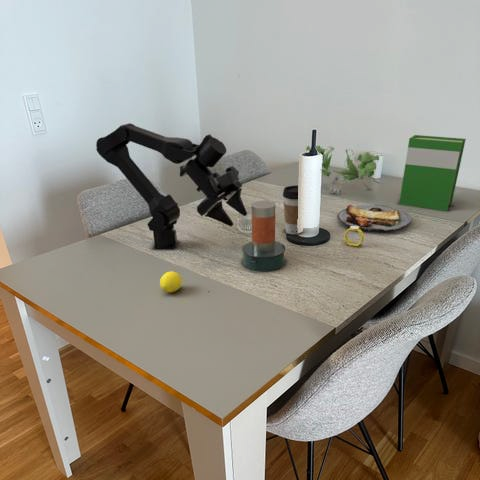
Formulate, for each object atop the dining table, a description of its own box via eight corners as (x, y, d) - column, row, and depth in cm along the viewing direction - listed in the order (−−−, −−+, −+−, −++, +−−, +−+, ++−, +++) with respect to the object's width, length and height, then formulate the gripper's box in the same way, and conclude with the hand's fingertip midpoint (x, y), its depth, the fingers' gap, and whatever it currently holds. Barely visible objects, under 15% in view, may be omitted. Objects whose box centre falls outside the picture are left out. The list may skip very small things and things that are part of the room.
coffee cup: (305, 236, 154) (308, 191, 146) (280, 235, 155) (281, 190, 148) (307, 227, 161) (310, 184, 153) (283, 226, 162) (284, 183, 155)
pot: (232, 269, 134) (231, 255, 132) (255, 248, 146) (255, 235, 144) (272, 277, 129) (273, 262, 127) (293, 255, 142) (293, 241, 139)
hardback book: (451, 205, 177) (465, 138, 164) (447, 210, 172) (461, 142, 159) (404, 198, 185) (414, 134, 173) (399, 203, 180) (409, 138, 167)
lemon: (172, 298, 120) (170, 280, 117) (155, 294, 123) (153, 275, 120) (188, 287, 125) (186, 269, 122) (172, 283, 128) (170, 265, 125)
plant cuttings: (310, 197, 212) (288, 176, 194) (324, 162, 211) (303, 137, 193) (381, 212, 192) (364, 190, 174) (397, 173, 192) (382, 147, 173)
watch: (363, 245, 146) (366, 227, 143) (360, 248, 144) (362, 230, 141) (345, 242, 149) (347, 224, 146) (342, 244, 147) (344, 226, 144)
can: (257, 254, 132) (257, 209, 125) (248, 245, 137) (247, 202, 130) (278, 250, 134) (279, 206, 127) (269, 242, 139) (269, 199, 132)
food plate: (330, 229, 159) (331, 219, 157) (344, 208, 177) (345, 199, 175) (407, 238, 151) (408, 227, 149) (413, 215, 169) (414, 205, 167)
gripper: (203, 166, 120) (243, 213, 122) (235, 151, 134) (270, 193, 136) (180, 193, 127) (218, 237, 129) (212, 176, 142) (246, 216, 143)
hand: (239, 220), depth 134 cm, fingers open, 9 cm apart
